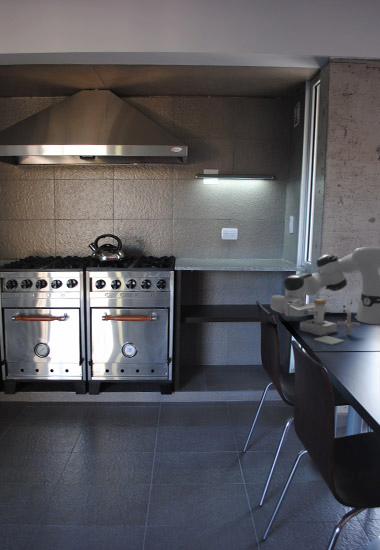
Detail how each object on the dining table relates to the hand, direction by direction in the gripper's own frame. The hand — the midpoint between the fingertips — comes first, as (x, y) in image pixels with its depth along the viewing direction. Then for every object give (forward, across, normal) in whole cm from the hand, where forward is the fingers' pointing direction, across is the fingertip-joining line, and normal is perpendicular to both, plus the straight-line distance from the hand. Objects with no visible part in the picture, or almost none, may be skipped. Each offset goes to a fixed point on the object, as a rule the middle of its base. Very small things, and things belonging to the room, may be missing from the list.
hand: (320, 312), depth 210 cm
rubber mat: (+12, +10, -9) cm, 18 cm away
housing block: (-1, 0, -9) cm, 9 cm away
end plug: (-1, 0, -9) cm, 9 cm away
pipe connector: (+11, -6, -9) cm, 16 cm away
